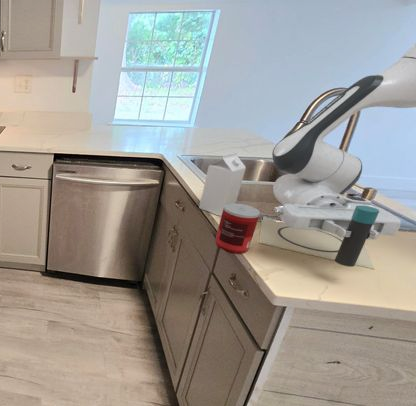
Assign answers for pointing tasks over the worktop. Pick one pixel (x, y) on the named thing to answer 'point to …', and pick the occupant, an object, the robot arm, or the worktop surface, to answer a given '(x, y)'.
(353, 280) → the worktop surface
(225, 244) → the canned food
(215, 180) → the milk carton
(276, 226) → the paper pad
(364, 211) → the marker
